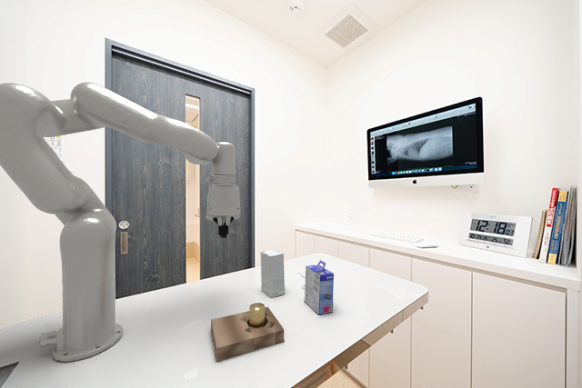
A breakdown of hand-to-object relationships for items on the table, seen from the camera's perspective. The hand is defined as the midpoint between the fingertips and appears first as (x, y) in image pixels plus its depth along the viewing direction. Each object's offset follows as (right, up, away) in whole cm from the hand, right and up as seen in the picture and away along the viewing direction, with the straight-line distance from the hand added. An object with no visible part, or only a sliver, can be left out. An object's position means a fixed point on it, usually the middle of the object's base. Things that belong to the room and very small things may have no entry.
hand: (223, 237), depth 73 cm
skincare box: (+15, -22, +10) cm, 29 cm away
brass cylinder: (+13, -23, -14) cm, 30 cm away
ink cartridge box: (+31, -23, 0) cm, 38 cm away
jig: (+11, -22, -16) cm, 29 cm away
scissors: (+30, -23, +21) cm, 43 cm away
